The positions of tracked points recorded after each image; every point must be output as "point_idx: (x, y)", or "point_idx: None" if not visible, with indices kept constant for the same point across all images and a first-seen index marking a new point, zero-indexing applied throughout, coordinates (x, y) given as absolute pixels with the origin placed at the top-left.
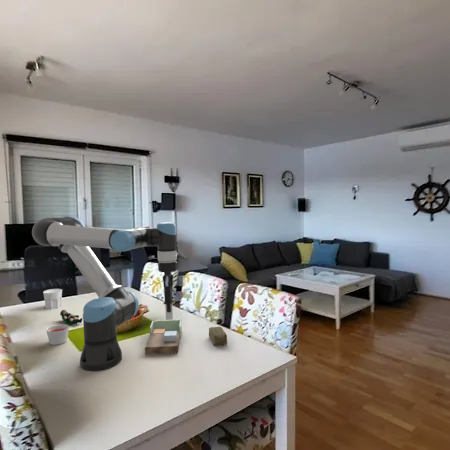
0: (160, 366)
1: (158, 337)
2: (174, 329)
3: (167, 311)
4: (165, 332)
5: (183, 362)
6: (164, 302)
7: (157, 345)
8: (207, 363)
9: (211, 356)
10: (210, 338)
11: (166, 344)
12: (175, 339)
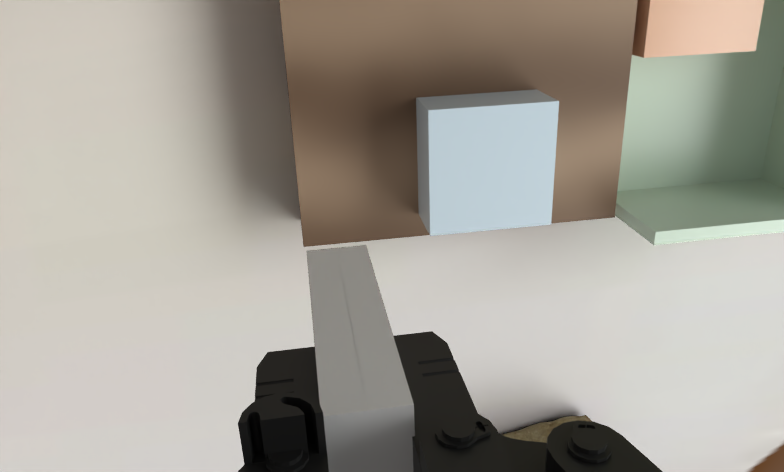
0: (33, 112)
1: (528, 15)
2: (780, 126)
3: (262, 371)
4: (522, 110)
5: (129, 287)
6: (315, 428)
7: (316, 43)
8: (127, 445)
9: (242, 456)
10: (532, 429)
11: (339, 134)
12: (421, 212)
